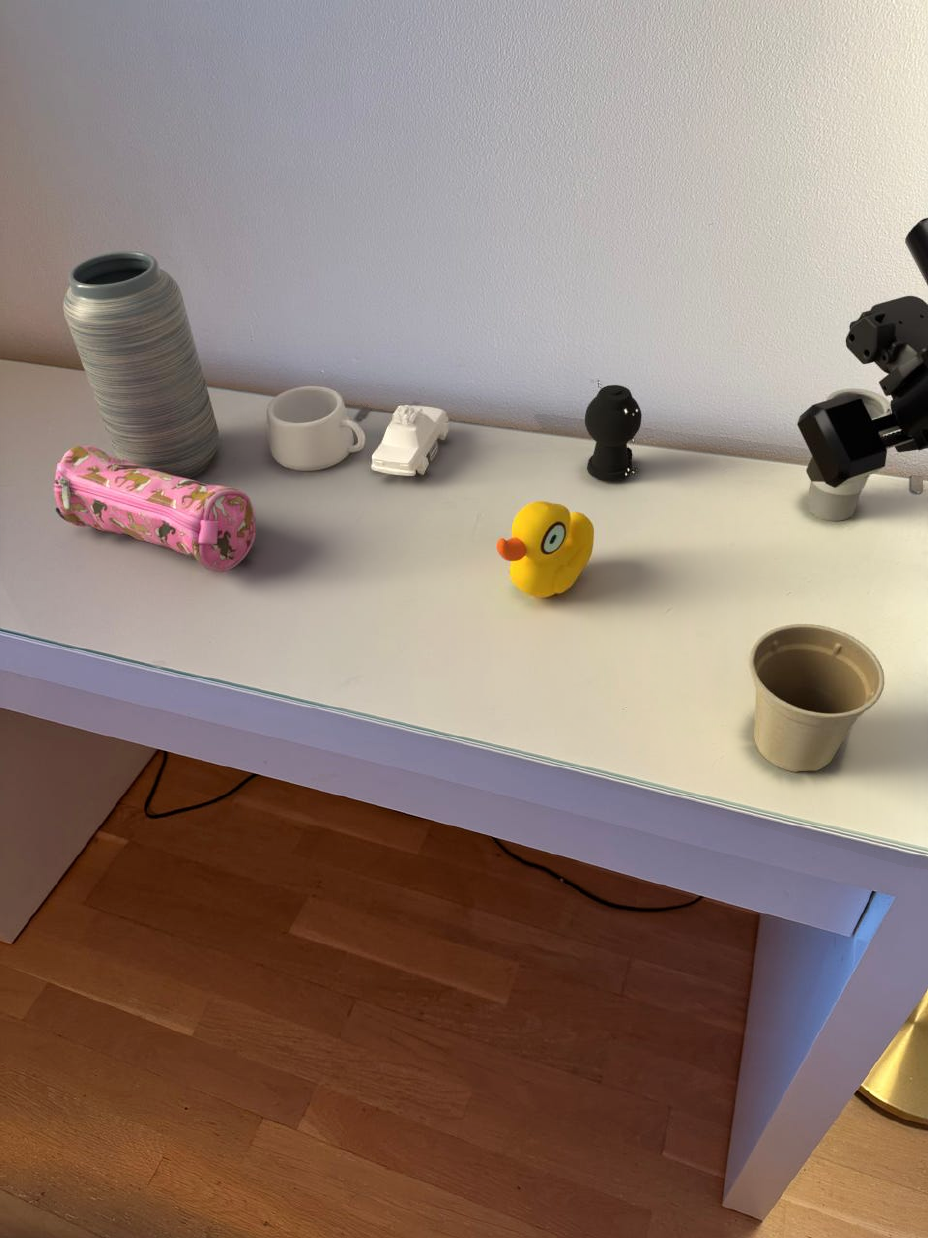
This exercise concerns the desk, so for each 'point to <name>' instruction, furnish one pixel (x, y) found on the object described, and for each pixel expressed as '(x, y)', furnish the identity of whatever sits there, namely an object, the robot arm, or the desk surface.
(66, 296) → the vase
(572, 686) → the desk surface
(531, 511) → the duckling
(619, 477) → the gumball machine
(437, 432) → the toy car
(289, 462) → the mug
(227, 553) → the pencil case
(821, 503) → the cup
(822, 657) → the flower pot
